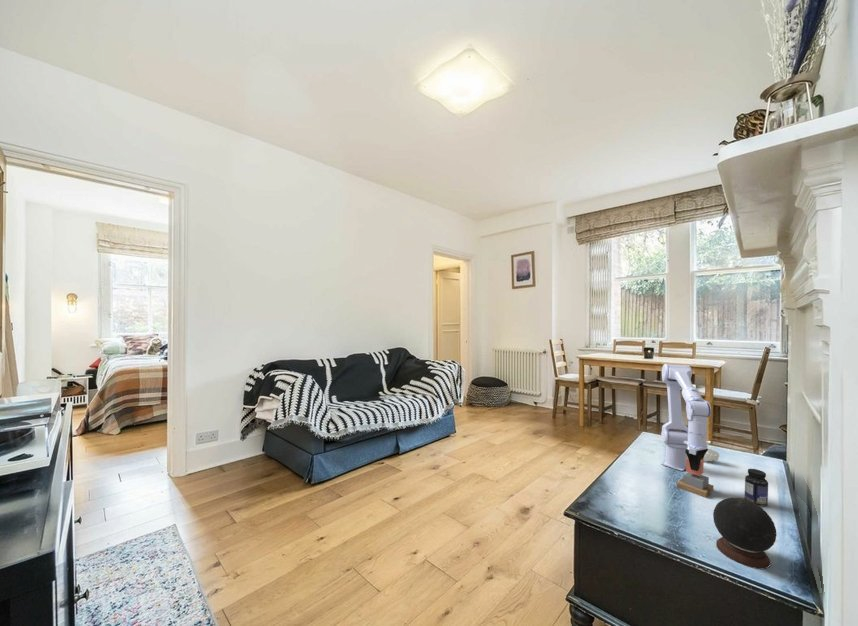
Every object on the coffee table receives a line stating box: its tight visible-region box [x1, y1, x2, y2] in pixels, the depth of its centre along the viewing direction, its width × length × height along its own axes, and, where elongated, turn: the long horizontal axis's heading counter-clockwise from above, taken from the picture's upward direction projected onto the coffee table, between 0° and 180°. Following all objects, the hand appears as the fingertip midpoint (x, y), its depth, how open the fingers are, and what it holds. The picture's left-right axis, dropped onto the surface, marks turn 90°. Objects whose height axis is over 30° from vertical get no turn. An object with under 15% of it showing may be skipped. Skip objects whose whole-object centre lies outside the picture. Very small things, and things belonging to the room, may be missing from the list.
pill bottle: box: [744, 468, 769, 507], centre depth 126 cm, size 6×6×11 cm
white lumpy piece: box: [687, 440, 720, 463], centre depth 161 cm, size 12×8×11 cm
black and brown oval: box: [712, 496, 777, 569], centre depth 98 cm, size 13×13×15 cm
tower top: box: [683, 472, 710, 490], centre depth 134 cm, size 6×6×3 cm
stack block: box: [685, 458, 705, 476], centre depth 135 cm, size 4×4×5 cm
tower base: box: [676, 477, 714, 499], centre depth 134 cm, size 9×9×2 cm
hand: (695, 468), depth 134 cm, fingers closed on stack block, 4 cm apart
